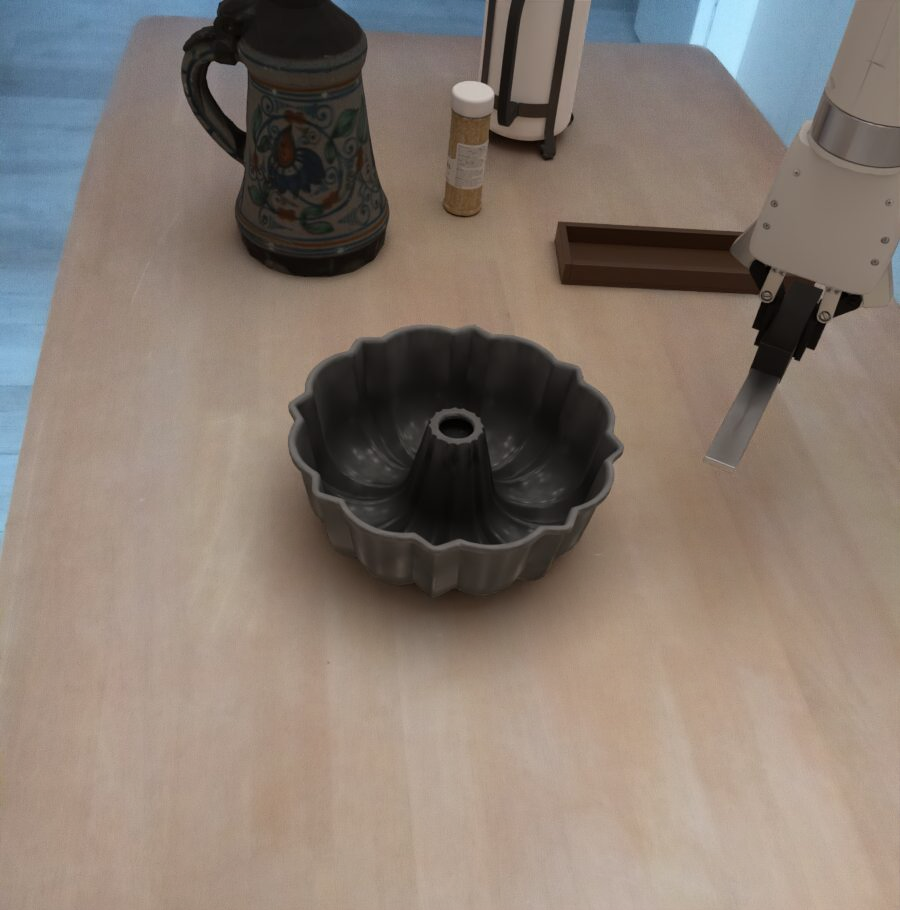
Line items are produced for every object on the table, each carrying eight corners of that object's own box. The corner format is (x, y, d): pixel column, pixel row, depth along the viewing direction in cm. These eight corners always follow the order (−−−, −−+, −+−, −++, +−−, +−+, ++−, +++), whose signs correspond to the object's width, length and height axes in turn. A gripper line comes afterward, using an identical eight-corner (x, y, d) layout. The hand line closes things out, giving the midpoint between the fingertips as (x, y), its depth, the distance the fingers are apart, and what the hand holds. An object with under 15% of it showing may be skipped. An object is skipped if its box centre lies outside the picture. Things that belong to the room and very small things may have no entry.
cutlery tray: (792, 254, 117) (800, 234, 115) (809, 296, 112) (818, 277, 110) (554, 241, 115) (557, 221, 113) (561, 284, 110) (565, 263, 108)
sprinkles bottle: (444, 194, 119) (453, 76, 108) (483, 198, 119) (496, 81, 108) (441, 215, 116) (450, 97, 106) (480, 220, 116) (493, 102, 106)
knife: (782, 309, 88) (793, 279, 85) (811, 319, 87) (823, 289, 85) (701, 461, 75) (712, 431, 73) (734, 475, 74) (747, 444, 72)
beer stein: (412, 262, 110) (426, 15, 90) (238, 298, 104) (212, 41, 84) (354, 184, 119) (355, -57, 99) (191, 213, 112) (157, -38, 93)
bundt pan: (269, 426, 92) (261, 336, 85) (542, 393, 98) (559, 305, 90) (324, 661, 77) (321, 577, 69) (644, 604, 83) (675, 521, 75)
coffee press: (436, 111, 131) (455, -171, 107) (547, 97, 136) (588, -177, 112) (491, 181, 121) (525, -112, 98) (608, 163, 126) (667, -121, 103)
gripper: (996, 140, 70) (886, 354, 85) (771, 73, 74) (703, 289, 89) (978, 188, 66) (866, 405, 80) (740, 114, 70) (674, 334, 84)
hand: (781, 342), depth 84 cm, fingers closed on knife, 2 cm apart
